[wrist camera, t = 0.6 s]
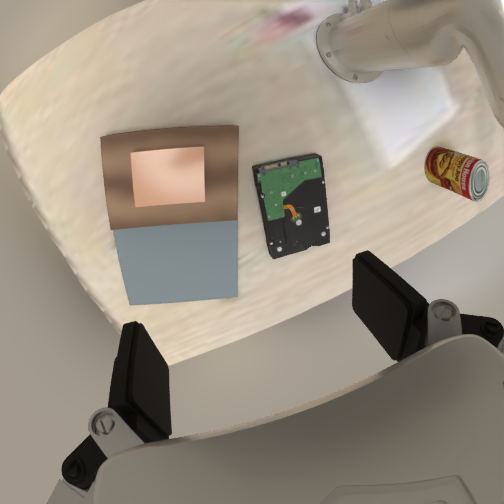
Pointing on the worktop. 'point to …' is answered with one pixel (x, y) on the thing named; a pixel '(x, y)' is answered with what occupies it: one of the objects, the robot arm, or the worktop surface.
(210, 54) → the worktop surface
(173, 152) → the terracotta tile
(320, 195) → the disk drive
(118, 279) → the worktop surface
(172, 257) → the slate mat
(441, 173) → the canned food
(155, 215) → the block
